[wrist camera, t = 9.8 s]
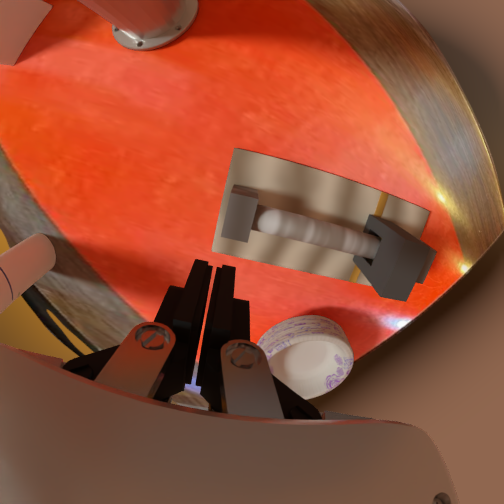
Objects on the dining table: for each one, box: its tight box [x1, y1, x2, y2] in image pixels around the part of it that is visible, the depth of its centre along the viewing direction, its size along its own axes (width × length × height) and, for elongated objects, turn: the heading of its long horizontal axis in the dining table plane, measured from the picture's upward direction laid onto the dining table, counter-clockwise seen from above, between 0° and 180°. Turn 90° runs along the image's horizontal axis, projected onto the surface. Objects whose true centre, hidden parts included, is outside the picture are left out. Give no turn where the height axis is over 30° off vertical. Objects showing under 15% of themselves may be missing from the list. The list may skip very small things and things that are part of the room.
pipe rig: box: [212, 148, 437, 286], centre depth 33 cm, size 30×14×7 cm, turn 76°
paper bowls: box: [257, 315, 354, 399], centre depth 40 cm, size 15×15×8 cm
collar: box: [353, 214, 430, 302], centre depth 31 cm, size 4×7×10 cm, turn 166°
